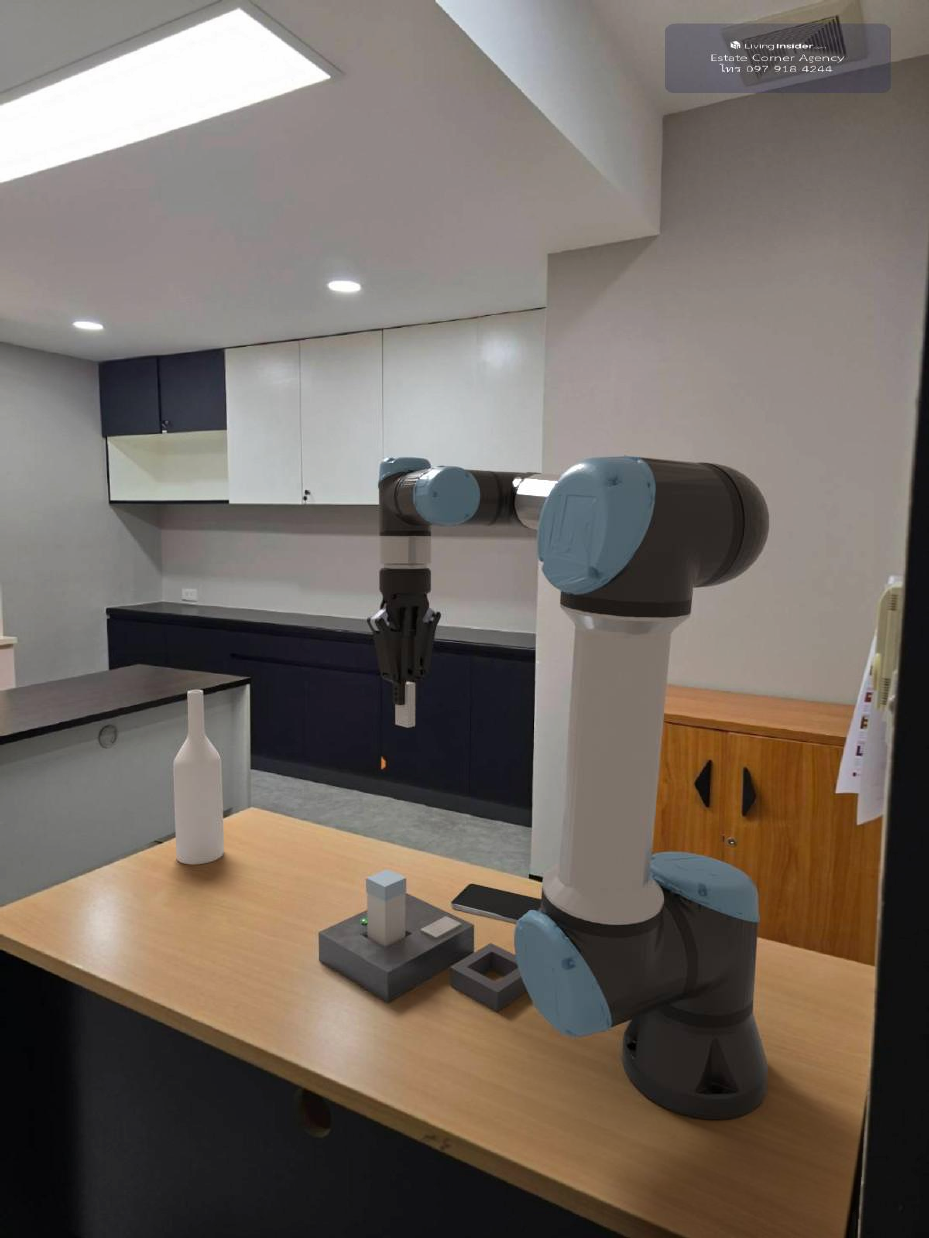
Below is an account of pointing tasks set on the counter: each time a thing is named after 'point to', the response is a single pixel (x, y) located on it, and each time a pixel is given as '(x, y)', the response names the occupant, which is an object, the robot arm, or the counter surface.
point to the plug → (386, 907)
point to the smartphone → (494, 903)
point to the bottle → (198, 792)
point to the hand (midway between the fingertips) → (405, 725)
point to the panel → (397, 949)
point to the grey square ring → (483, 989)
